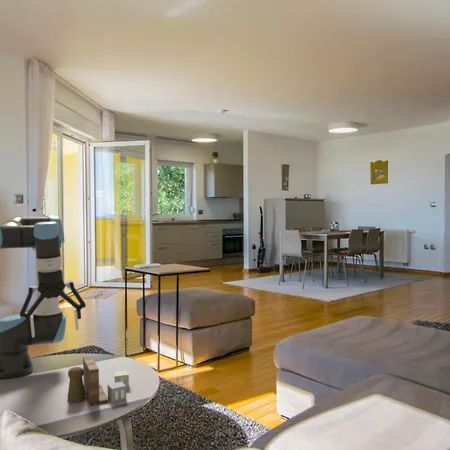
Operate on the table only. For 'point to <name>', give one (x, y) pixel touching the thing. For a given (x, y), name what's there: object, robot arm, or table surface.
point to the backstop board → (92, 382)
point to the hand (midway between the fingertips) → (55, 332)
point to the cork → (76, 385)
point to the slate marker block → (116, 392)
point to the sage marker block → (122, 377)
